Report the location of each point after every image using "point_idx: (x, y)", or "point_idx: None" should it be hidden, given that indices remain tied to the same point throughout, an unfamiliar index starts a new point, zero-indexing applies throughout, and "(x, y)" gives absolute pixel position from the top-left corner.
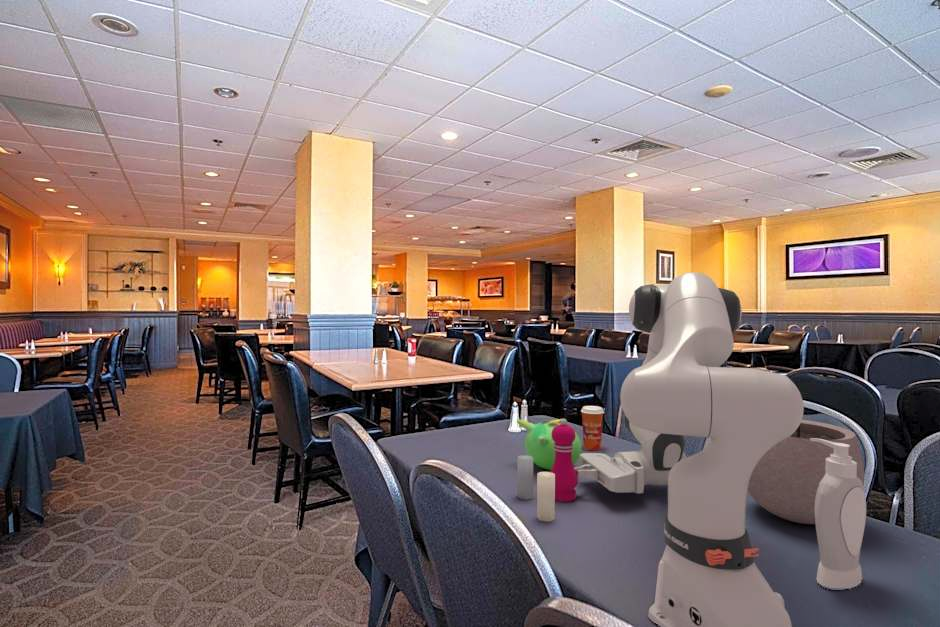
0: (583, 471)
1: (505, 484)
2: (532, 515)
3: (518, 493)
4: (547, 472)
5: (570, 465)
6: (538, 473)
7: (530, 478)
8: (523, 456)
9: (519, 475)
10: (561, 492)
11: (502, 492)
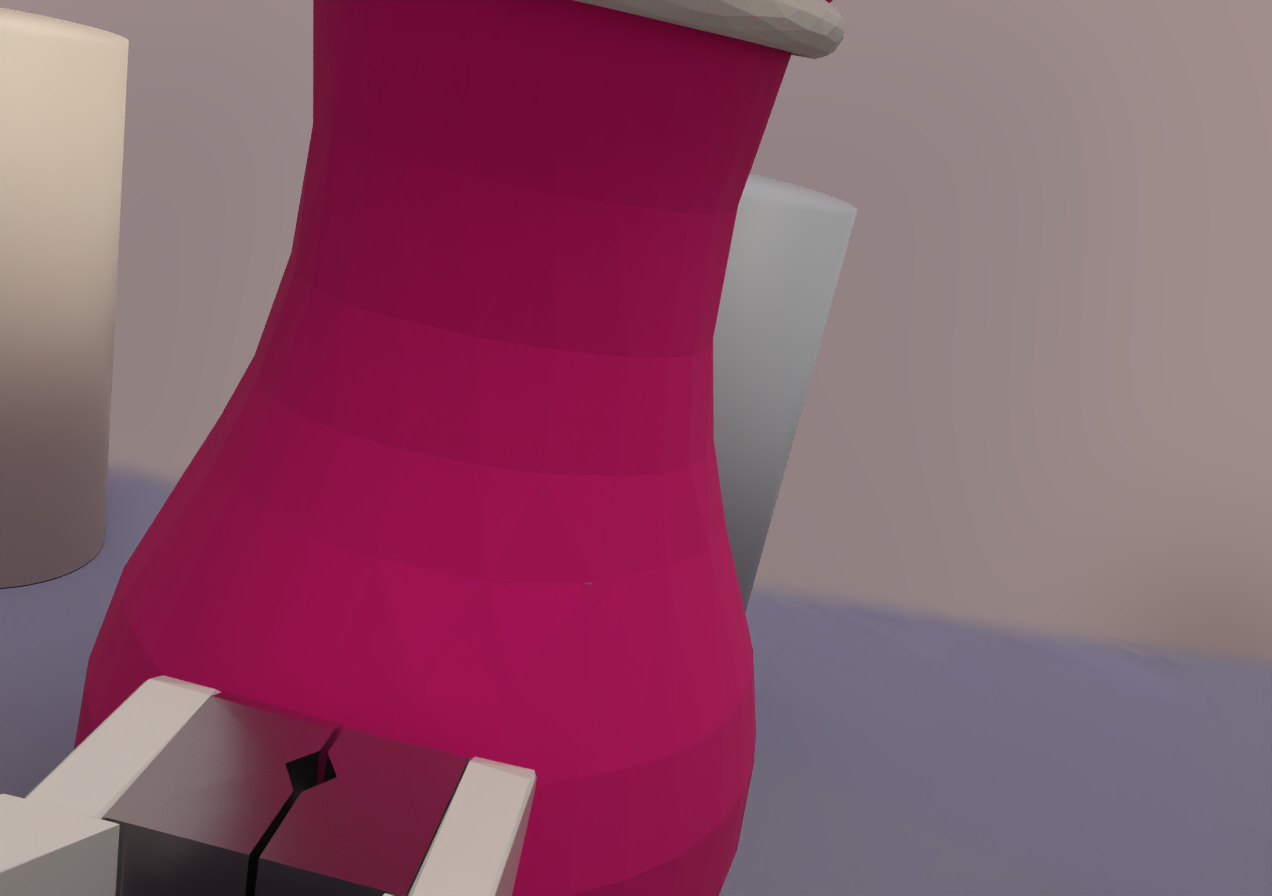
0: (64, 793)
1: (1045, 708)
2: (151, 512)
3: None
4: (43, 34)
5: (261, 359)
6: (104, 33)
7: None
8: (799, 194)
9: None
10: None
11: (805, 604)
